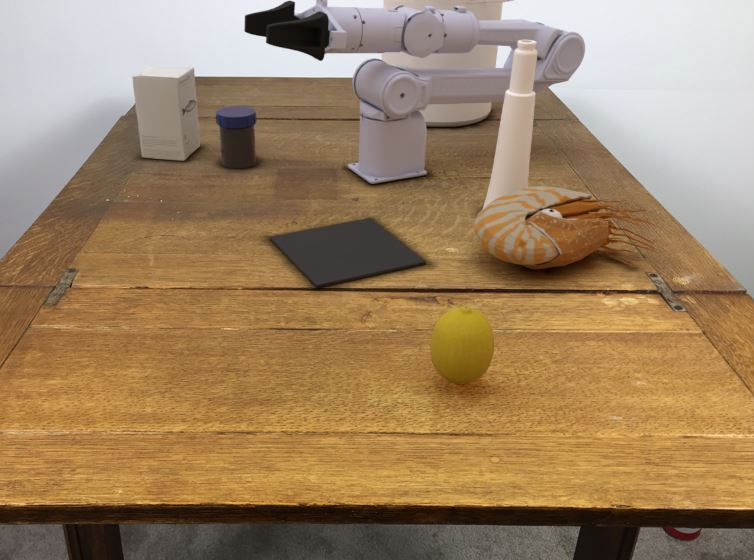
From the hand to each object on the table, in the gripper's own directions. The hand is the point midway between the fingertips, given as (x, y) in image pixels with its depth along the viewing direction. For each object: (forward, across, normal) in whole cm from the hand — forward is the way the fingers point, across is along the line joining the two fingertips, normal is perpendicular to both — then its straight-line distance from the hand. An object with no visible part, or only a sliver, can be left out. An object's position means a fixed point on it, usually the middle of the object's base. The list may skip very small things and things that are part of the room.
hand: (256, 29), depth 99 cm
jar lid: (-2, -13, +14) cm, 19 cm away
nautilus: (-26, +35, +20) cm, 48 cm away
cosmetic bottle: (-28, +21, +20) cm, 40 cm away
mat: (-4, +22, +22) cm, 31 cm away
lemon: (-1, +51, +22) cm, 56 cm away
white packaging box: (+5, -22, +22) cm, 32 cm away
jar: (-3, -13, +22) cm, 25 cm away
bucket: (-45, -24, +18) cm, 54 cm away
